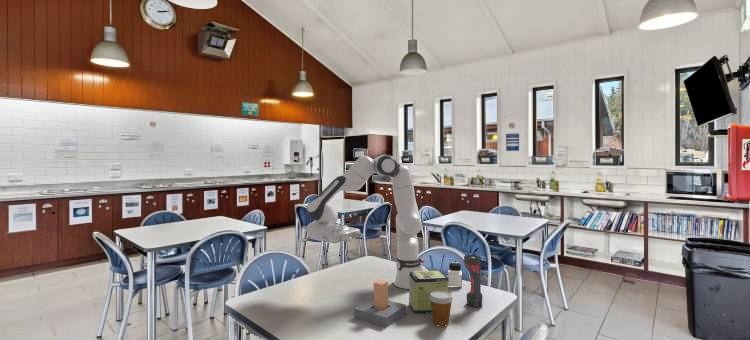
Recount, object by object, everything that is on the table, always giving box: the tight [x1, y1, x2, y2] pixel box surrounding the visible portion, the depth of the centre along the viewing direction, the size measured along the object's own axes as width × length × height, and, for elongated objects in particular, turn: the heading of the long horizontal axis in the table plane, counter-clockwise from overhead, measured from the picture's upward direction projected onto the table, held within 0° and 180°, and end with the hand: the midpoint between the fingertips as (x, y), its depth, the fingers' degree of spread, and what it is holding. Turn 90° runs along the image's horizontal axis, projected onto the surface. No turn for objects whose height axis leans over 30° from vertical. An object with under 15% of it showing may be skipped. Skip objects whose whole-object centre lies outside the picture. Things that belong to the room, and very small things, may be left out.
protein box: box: [408, 270, 449, 314], centre depth 168 cm, size 10×16×16 cm
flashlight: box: [463, 253, 483, 307], centre depth 173 cm, size 8×8×23 cm
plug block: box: [373, 279, 389, 311], centre depth 160 cm, size 4×4×14 cm
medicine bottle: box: [447, 261, 463, 288], centre depth 199 cm, size 7×7×12 cm
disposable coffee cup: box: [429, 291, 454, 327], centre depth 153 cm, size 10×10×12 cm
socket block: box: [353, 297, 407, 329], centre depth 160 cm, size 16×16×4 cm
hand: (356, 237), depth 176 cm, fingers open, 8 cm apart
